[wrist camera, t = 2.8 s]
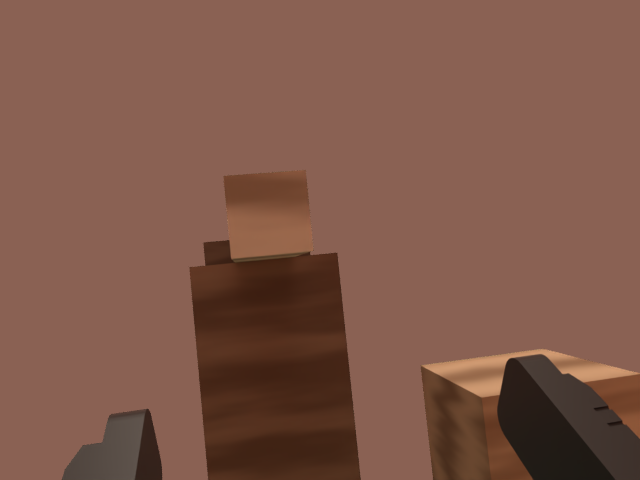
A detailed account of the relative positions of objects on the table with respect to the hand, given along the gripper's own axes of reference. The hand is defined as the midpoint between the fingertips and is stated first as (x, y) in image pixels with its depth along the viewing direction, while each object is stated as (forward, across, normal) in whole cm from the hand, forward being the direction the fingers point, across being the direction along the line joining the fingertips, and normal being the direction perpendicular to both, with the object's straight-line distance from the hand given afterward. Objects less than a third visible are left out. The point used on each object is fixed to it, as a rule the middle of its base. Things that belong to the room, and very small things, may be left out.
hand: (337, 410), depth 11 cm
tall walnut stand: (+13, 0, +40) cm, 42 cm away
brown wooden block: (+24, 0, +9) cm, 26 cm away
